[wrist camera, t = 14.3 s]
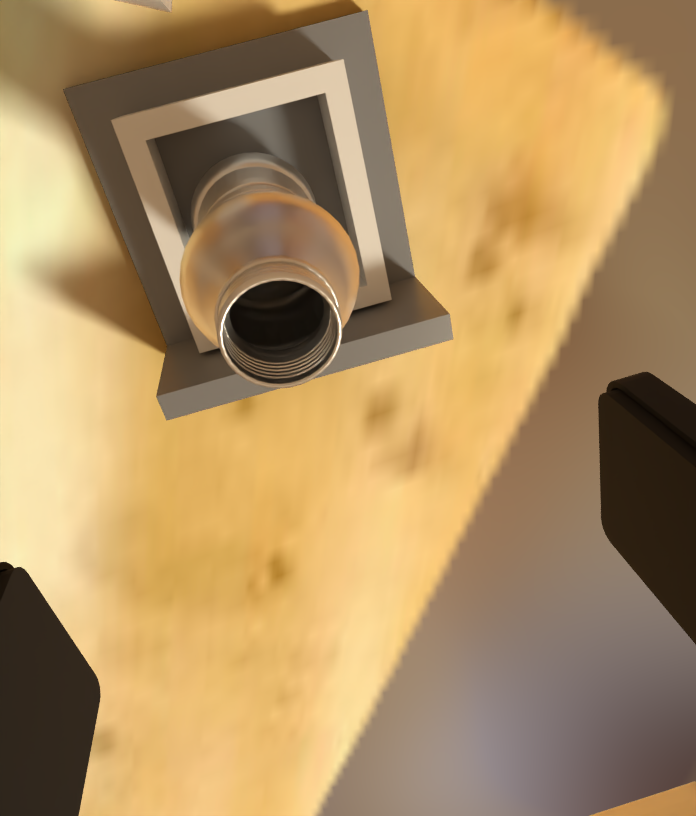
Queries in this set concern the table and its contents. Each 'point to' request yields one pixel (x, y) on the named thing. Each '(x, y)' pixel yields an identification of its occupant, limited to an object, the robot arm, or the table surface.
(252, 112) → the housing
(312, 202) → the plastic bottle
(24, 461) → the table surface
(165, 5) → the beige printed carton
